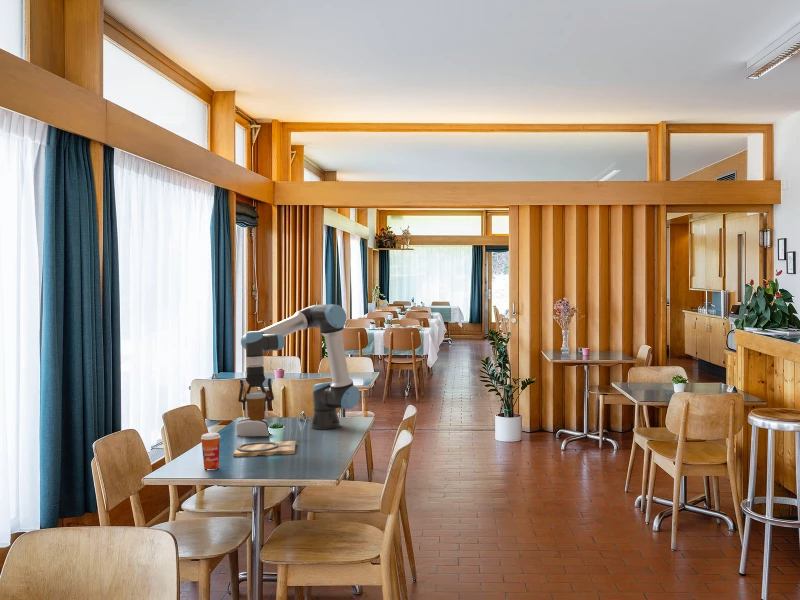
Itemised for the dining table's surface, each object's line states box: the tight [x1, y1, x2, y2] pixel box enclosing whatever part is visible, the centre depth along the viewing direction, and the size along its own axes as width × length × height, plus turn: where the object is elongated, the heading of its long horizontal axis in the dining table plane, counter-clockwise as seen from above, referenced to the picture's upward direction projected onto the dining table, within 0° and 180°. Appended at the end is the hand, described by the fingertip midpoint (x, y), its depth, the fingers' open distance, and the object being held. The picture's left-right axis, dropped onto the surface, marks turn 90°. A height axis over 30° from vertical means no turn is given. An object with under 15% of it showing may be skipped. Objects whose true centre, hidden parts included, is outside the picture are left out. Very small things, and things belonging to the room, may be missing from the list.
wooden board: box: [233, 440, 297, 457], centre depth 310 cm, size 26×20×2 cm
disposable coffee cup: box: [245, 390, 267, 421], centre depth 309 cm, size 10×10×12 cm
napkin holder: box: [236, 417, 270, 437], centre depth 345 cm, size 17×5×10 cm, turn 82°
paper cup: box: [200, 432, 221, 469], centre depth 279 cm, size 8×8×14 cm
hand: (256, 416), depth 309 cm, fingers closed on disposable coffee cup, 8 cm apart
